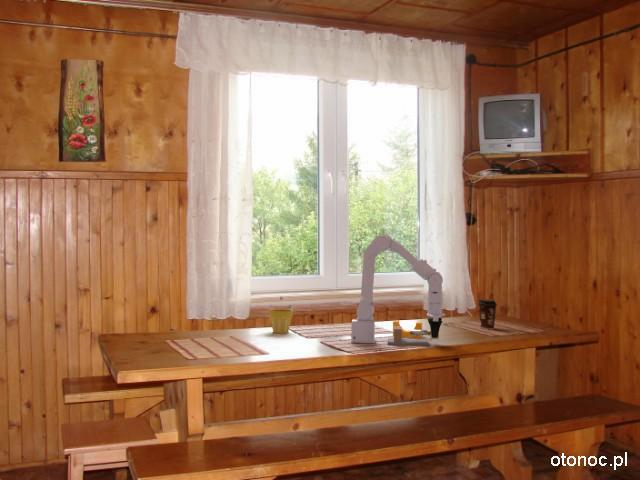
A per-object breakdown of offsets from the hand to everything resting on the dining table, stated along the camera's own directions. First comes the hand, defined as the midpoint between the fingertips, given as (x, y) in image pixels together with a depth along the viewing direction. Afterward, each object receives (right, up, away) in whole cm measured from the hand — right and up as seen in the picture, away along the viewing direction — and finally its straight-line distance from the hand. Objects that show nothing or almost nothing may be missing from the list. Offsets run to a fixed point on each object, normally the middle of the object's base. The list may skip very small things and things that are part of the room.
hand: (434, 337), depth 270 cm
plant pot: (-62, -2, +28) cm, 69 cm away
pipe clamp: (-8, -3, +19) cm, 21 cm away
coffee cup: (+31, -2, +43) cm, 53 cm away
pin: (-4, -1, +1) cm, 4 cm away
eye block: (-9, -3, +1) cm, 10 cm away
